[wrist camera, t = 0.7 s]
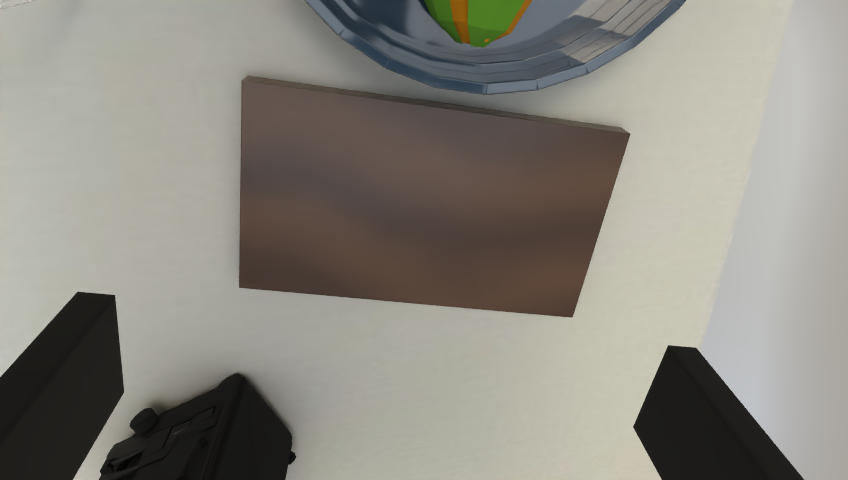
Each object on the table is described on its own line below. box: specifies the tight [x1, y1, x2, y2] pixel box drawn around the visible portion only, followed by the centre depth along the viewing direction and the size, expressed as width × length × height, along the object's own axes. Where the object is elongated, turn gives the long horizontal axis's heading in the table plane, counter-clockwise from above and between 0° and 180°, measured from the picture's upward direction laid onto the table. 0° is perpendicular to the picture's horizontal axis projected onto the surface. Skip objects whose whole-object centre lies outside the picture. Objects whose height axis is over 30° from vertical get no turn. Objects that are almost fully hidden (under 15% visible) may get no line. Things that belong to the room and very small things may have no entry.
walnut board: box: [239, 76, 630, 317], centre depth 38 cm, size 14×24×2 cm, turn 81°
